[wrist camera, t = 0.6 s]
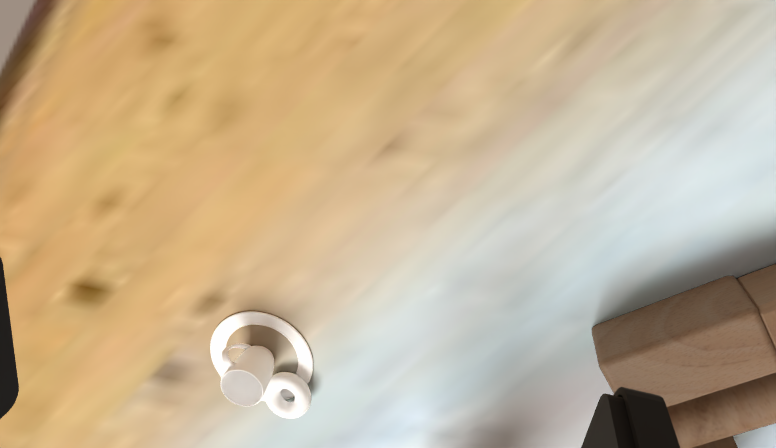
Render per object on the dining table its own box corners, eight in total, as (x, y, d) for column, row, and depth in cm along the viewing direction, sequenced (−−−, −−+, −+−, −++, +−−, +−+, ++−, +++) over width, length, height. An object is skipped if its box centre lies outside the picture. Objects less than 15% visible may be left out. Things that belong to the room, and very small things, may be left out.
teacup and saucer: (327, 403, 49) (312, 441, 45) (232, 407, 50) (210, 444, 47) (300, 304, 45) (282, 335, 42) (200, 312, 47) (174, 343, 44)
